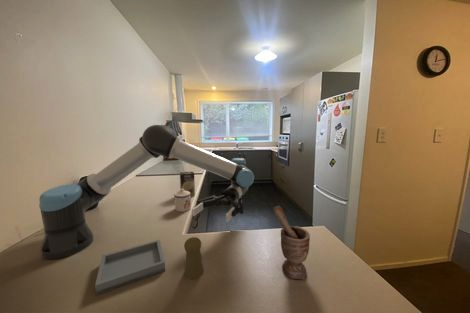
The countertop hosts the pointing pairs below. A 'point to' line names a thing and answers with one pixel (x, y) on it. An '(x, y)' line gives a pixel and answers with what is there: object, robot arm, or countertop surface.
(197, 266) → the cork
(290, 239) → the mortar and pestle
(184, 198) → the teacup with lid
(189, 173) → the coffee box
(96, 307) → the countertop surface
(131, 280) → the tray
